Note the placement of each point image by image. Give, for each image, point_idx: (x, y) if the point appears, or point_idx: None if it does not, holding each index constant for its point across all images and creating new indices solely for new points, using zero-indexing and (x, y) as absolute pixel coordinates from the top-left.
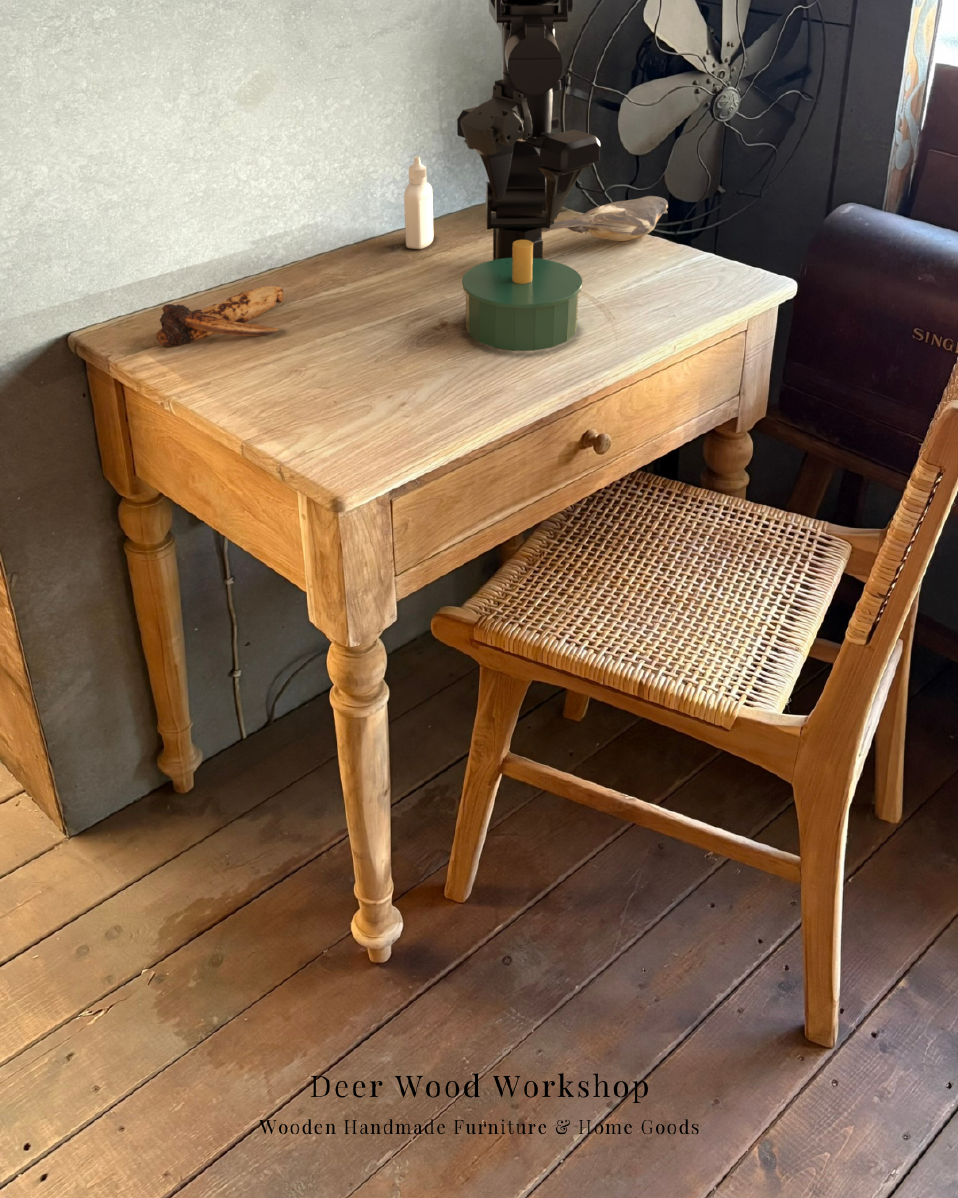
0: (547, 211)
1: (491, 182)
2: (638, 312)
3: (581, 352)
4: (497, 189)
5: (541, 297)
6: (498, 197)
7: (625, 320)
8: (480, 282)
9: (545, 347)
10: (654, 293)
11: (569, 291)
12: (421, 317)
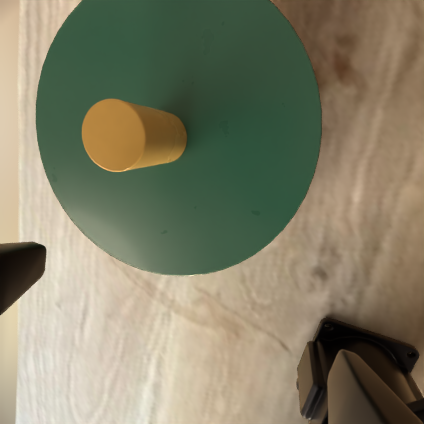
0: (9, 248)
1: (405, 417)
2: (98, 294)
3: None
4: (353, 390)
5: (72, 75)
6: (339, 360)
7: (96, 262)
8: (240, 53)
9: None
10: (116, 360)
11: (49, 143)
12: (409, 68)
